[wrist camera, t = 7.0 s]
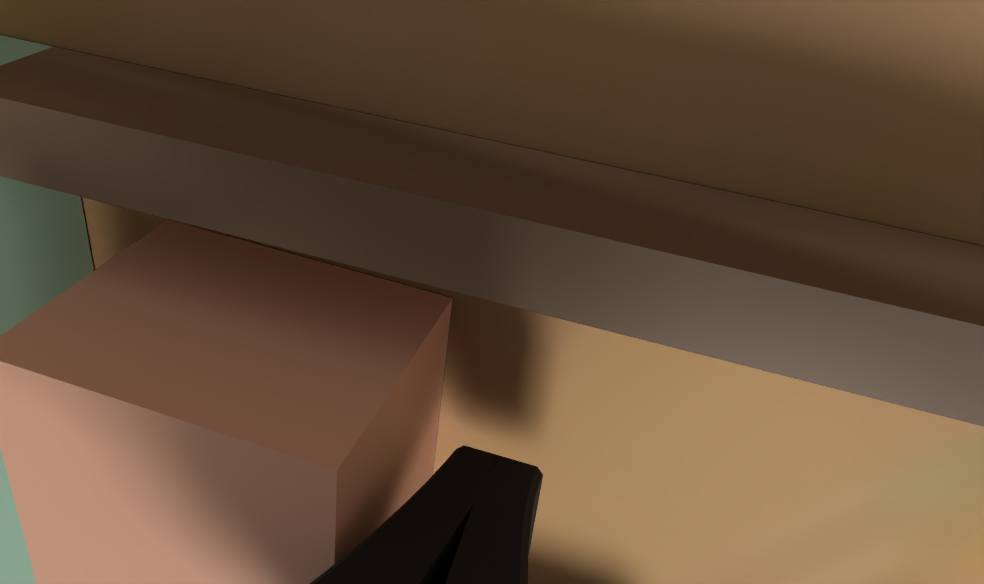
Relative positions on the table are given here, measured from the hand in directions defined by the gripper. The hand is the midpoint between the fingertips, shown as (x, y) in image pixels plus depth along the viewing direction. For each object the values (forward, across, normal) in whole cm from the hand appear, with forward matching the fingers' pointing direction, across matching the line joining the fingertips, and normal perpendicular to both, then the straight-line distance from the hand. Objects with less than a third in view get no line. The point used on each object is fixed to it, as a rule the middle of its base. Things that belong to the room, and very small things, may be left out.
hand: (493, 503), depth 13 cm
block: (+1, +4, 0) cm, 4 cm away
